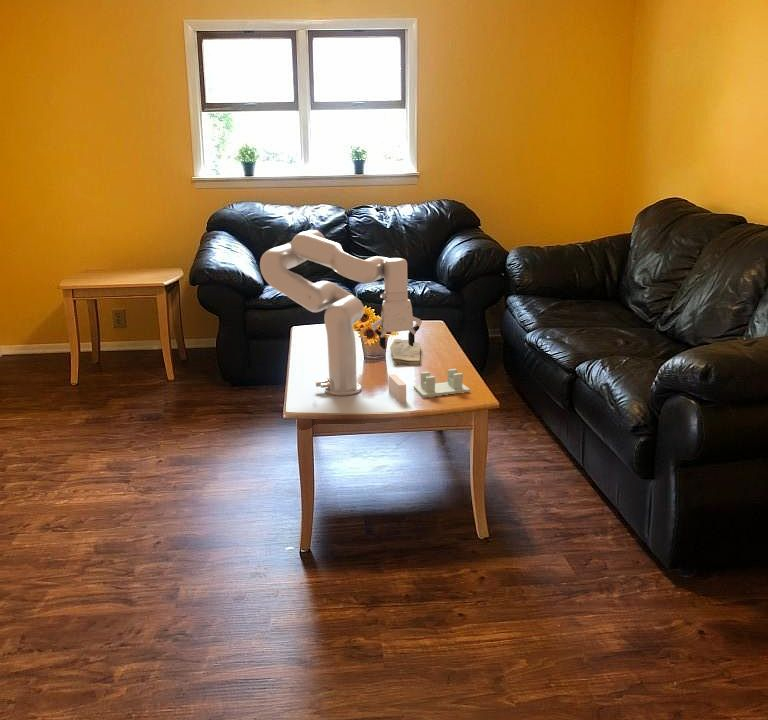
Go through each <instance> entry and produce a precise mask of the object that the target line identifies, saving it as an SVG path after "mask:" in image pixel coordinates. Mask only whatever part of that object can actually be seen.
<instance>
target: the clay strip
mask: <svg viewBox="0 0 768 720" xmlns="http://www.w3.org/2000/svg"><path fill="white" fill-rule="evenodd" d="M387 380H388V392H389V393H390V395H392V396H393V397H394V398H395V400H396V401H397V402H399V403H403V402H407V384H406V383H405V382H404V381H403V380H402V379H401V378H400V377H399V376H398V375H397V374H395V373H394V374H388V379H387Z"/></svg>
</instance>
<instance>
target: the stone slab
mask: <svg viewBox="0 0 768 720" xmlns="http://www.w3.org/2000/svg"><path fill="white" fill-rule="evenodd" d="M421 347H422V346H421V344H420V342H418V341H415V342H414V343H413V346H410V345H409V343H408V339H400V338H395V339H393V342H392V343H391V345H390V348H389V349H390V353H391V356H392V359H391V360H392V362H393V363H394V364H395V365H401V364H403V365H406V364H407V366H420V365H421ZM419 364H420V365H419Z"/></svg>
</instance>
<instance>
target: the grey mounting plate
mask: <svg viewBox="0 0 768 720" xmlns="http://www.w3.org/2000/svg"><path fill="white" fill-rule="evenodd" d="M463 377H464V376H463V373H462V372H458V369H457V368H450V369H447V381H445V382H436V376H435V375H431V372H429V371H422V372H420V384H418V385H416V384H415V385H413V387H412V388H414V389H413V390H414V391H415V390H416V391H415V392H416V393H417V392H418V393H417V394H418V395H419V396H420V395H421V396H422V397H421V396H420V397H421V398H422V399H427V397H429V398H436V397H435V396H437V397H443V396H442V395H446V396H449V395H448V394H454V393H462V392H470V393H471V389H470V388H469V387H468V386H466V385H465V384H464V383H463V382H464V381H463V379H464V378H463ZM454 395H455V394H454Z"/></svg>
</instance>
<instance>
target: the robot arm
mask: <svg viewBox="0 0 768 720" xmlns="http://www.w3.org/2000/svg"><path fill="white" fill-rule="evenodd" d="M306 261H310V262H314V263H315V264H320V265H322V266H325V267H327V268H329V269H332V270H333V271H334V272H336V273H337V274H338V275H340V276H342V277H344V278H347V279H349V280H352V281H354V282H358V283H362V284H371V283H374V282H376V281H378V280H381V279H384V291H383V293H381V294H380V299H383V301H382V306H381V313H380V318H379V319H378V320H376V321H375V322H373V323H371V324H370V325H371V328H372V330H373V332H374V333H375V334H377V335H378V336H379V337H378V338H379V347H381V349H382V350H386V349H387V348H386V345H387V343H386V339H387V338H386V337H385V335H386V334H387V333H396V332H404V331H405V332H406V331H408V333H407V334H408V336H407V337H408V339H407V340H408V343H409V345H410V346H413V343H414V342H416V341H415V339H416V338H415V335H416V334H417V332H418V331H419V330H420V327H421V325H422V324H423V323H422V322H423V320H421V319H420V318H418V317H415V316H413V315H414V314H413V306H412V303H411V299H409V297H408V296H409V295H408V293H409V292H408V291H409V290H408V287H409V285H408V262H407V260H406V259H405V258H401V257H391V258H390V257H385V256H380V255H379V256H378V255H376V256H371V257H368V258H366V259H362V258H359V257H356V256H353V255H351V254H349V253H347V252H346V251H344V250H343V247H342V245H341V243H339V242H335V241H333V240H330V239H327V238H325V236H324V234H323V233H322V232H321V231H319V230H316V229H309V230H305V231H302V232H299V233H296V234H295V236H294V237H293V238H292V240H291V241H289V242H286V243H285V244H282V245H279V246H275V247H272V248H269V249H268V250H266V251H264V253H262V255H261V257H260V261H259V269H260V273H261V276H262V277H263V279H264V280H265V282H266V283H267V284H268V285H269V286H270V287H271V288H273V289H274V290H276V291H278V292H279V293H281V294H283V295H284V296H286V297H287V298H289V299H290V300H292V301H294V302H295V303H296V304H298V305H300V306H302V307H303V308H305V309H306V310H307V311H309V312H312V313H320V312H322V311H323V310H325V311H324V312H325V313H324V318H323V319H324V326H325V329H326V330H325V331H326V337H327V338H326V339H327V340H326V341H327V358H328V359H327V360H328V361H327V362H328V376H327V377H326V378H325V379H324V380H317V381H316V380H315V386H316V387H320V388H321V389H323V388H324V390H325V391H324V392H326V393H327V394H329V395H333V396H351V395H355V394H358V393H360V392H361V391H362V385H361V383H360V384H359V383H358V382H357V352H356V351H357V350H356V349H357V348H356V347H357V346H356V335H355V330H354V324H355V323H357V322H358V321H359V320H361V319H362V318H363V316H364V313H365V307H364V304H363V303H362V301H361V300H360V299H359V298H358V297H357V296H355V295H354V294H352V293H351V292H349V291H347V290H345V289H344V288H343V287H341V286H339V285H338V284H336V283H334V282H332V281H328V280H320V281H317V282H312V281H310V280H308V279H307V278H304V277H303V276H302V275H300V274H298V273H295V272H293V271H291V270H290V269H292V268H294V267H297V266H298V265H301V264H302V263H305V262H306ZM414 322H415V325H414ZM378 326H380V327H381V329H380V330H379V329H378Z"/></svg>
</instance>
